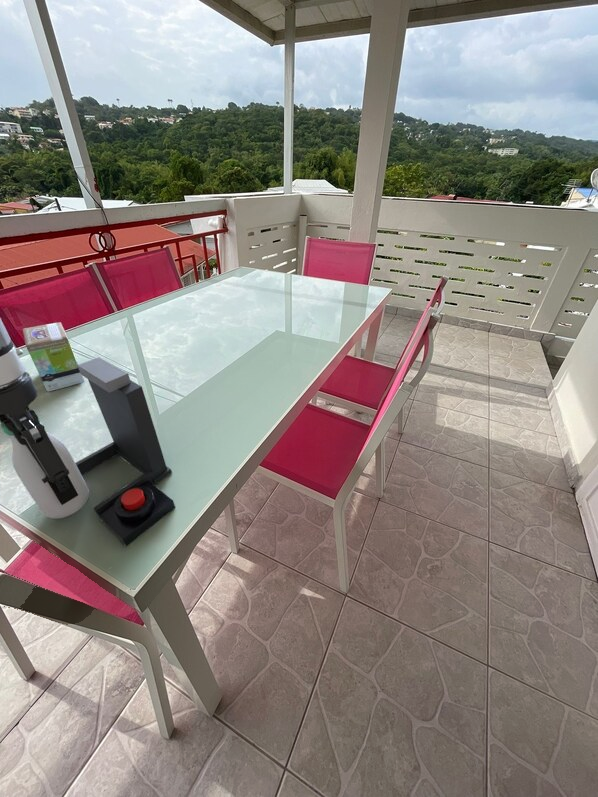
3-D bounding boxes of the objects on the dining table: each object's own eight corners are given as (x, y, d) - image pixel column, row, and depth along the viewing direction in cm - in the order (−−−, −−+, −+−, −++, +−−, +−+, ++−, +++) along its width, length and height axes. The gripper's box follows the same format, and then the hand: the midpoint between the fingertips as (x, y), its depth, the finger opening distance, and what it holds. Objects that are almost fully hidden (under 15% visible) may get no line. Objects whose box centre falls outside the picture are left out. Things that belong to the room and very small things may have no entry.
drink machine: (102, 522, 60) (47, 419, 47) (62, 481, 68) (5, 382, 54) (172, 473, 70) (143, 376, 57) (130, 442, 78) (96, 350, 64)
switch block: (126, 546, 56) (119, 533, 54) (102, 522, 60) (95, 508, 58) (175, 507, 63) (171, 493, 61) (151, 487, 67) (146, 474, 65)
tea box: (86, 382, 100) (67, 336, 91) (47, 393, 95) (23, 346, 86) (78, 362, 109) (60, 320, 101) (42, 371, 104) (20, 327, 96)
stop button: (130, 514, 58) (128, 508, 57) (119, 504, 59) (116, 497, 58) (149, 500, 60) (146, 494, 59) (138, 491, 62) (135, 485, 61)
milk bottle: (99, 497, 63) (57, 414, 52) (56, 527, 58) (0, 441, 46) (76, 480, 66) (33, 398, 55) (34, 507, 61) (-23, 422, 50)
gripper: (56, 392, 44) (108, 502, 57) (1, 350, 54) (55, 452, 67) (-12, 420, 39) (62, 533, 52) (-60, 368, 49) (12, 473, 62)
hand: (58, 487), depth 60 cm, fingers closed on milk bottle, 8 cm apart
